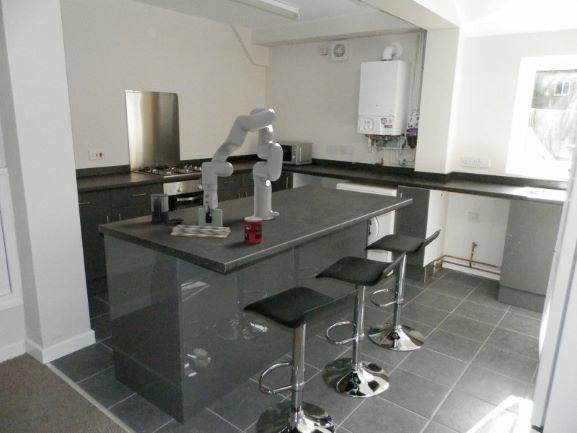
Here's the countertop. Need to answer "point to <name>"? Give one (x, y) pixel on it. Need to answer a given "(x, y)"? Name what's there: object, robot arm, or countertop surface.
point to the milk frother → (161, 209)
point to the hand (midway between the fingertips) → (210, 221)
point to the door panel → (216, 218)
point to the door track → (200, 231)
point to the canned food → (252, 230)
